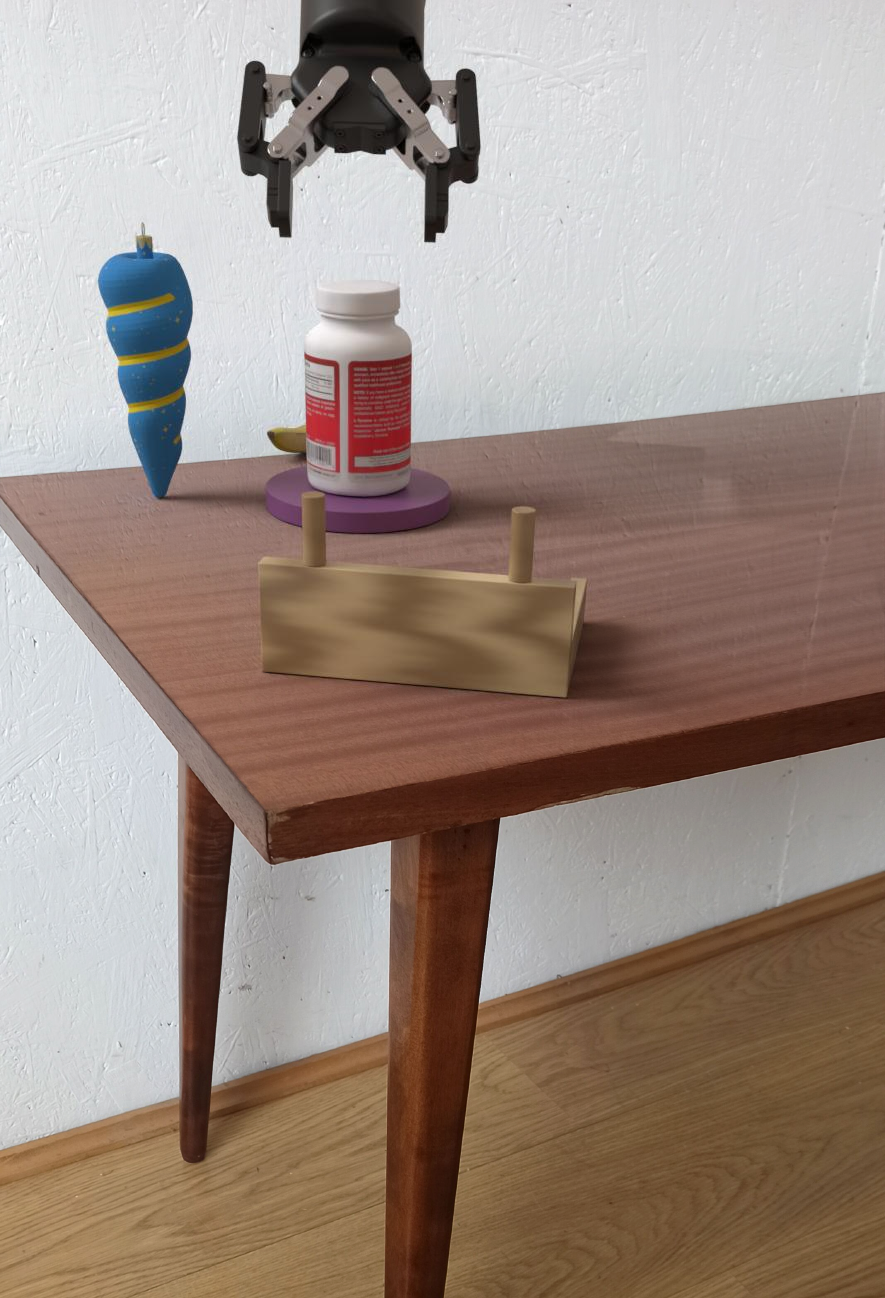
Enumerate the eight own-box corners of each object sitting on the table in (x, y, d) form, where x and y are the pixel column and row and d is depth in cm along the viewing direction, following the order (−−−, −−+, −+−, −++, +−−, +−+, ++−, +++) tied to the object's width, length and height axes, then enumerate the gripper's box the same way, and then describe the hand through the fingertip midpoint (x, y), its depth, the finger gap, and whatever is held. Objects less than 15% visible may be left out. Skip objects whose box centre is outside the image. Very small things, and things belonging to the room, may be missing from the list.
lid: (461, 488, 96) (462, 468, 95) (433, 539, 86) (434, 518, 86) (290, 476, 97) (290, 456, 96) (245, 525, 88) (244, 504, 87)
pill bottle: (422, 477, 93) (426, 281, 87) (393, 503, 88) (395, 297, 82) (326, 467, 94) (323, 273, 88) (291, 493, 89) (286, 289, 83)
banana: (326, 436, 106) (325, 376, 104) (348, 440, 105) (347, 379, 103) (262, 462, 100) (260, 398, 97) (285, 465, 99) (283, 401, 97)
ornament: (110, 507, 90) (85, 227, 82) (123, 484, 94) (100, 216, 86) (198, 509, 90) (182, 230, 82) (207, 485, 94) (192, 218, 86)
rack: (583, 621, 76) (597, 457, 71) (566, 698, 67) (580, 516, 63) (312, 599, 77) (309, 437, 73) (261, 671, 69) (255, 493, 65)
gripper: (239, -59, 89) (229, 181, 85) (483, -50, 89) (483, 189, 86) (251, 44, 96) (241, 270, 93) (476, 52, 97) (475, 277, 93)
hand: (357, 231), depth 89 cm, fingers open, 8 cm apart
